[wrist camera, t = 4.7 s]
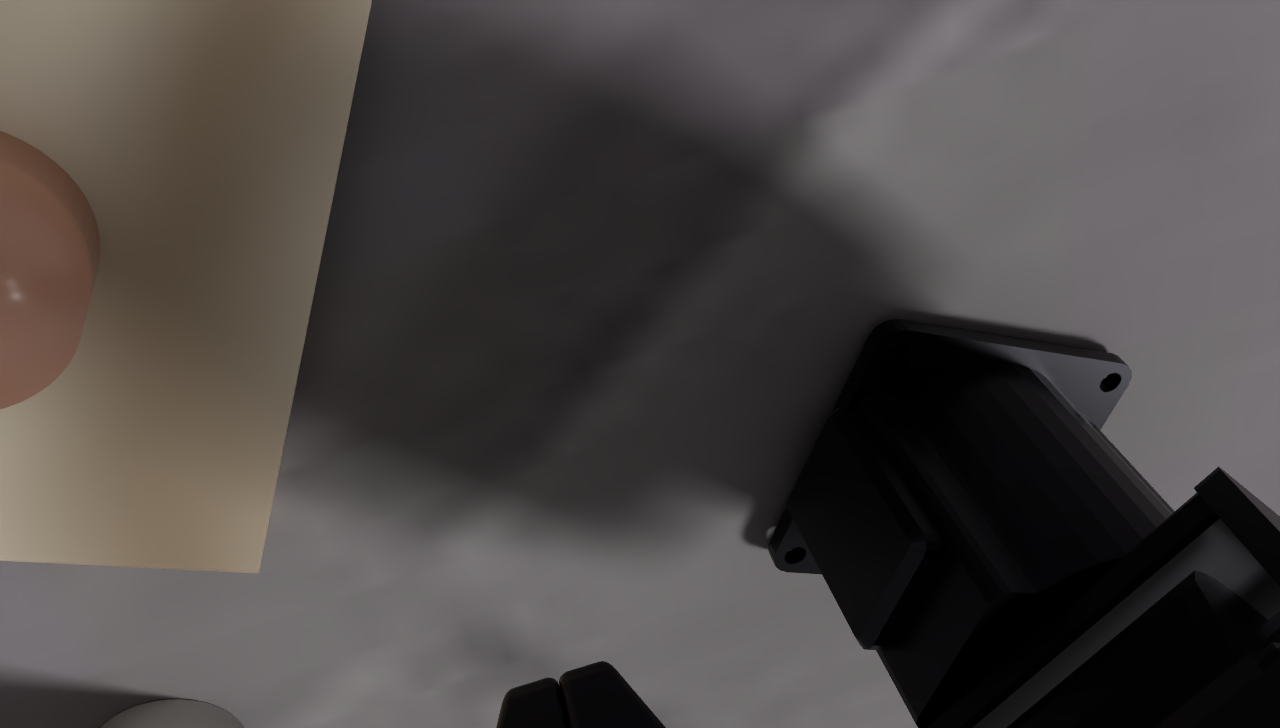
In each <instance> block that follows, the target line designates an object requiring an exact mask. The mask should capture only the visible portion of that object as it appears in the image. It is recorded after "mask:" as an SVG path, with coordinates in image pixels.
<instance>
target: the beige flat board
mask: <svg viewBox="0 0 1280 728" xmlns="http://www.w3.org/2000/svg"><path fill="white" fill-rule="evenodd" d="M371 3H372V0H0V131H2V132H5V133H7V134H10V135H12V136H14V137H16V138H18V139H20V140H23V141H25V142H26V143H28V144H30V145H31V146H33V147H35V148H36V149H38V150H40V151H41V152H43V153H44V154H45V155H47V156H48V157H49V158H51V159H52V160H53V161H55V162H56V163H57V164H58V165H59V166H60V167H61V168H62V169H63V170H64V171H65V172H67V173H68V175H69V176H70V177H71V178H72V179H73V180H74V182H75V183H76V184H77V185H78V186H79V188H80V189H81V191H82V193H83V194H84V196H85V197H86V199H87V200H88V202H89V205H90V207H91V209H92V211H93V213H94V216H95V219H96V222H97V225H98V230H99V237H100V258H99V263H98V269H97V273H96V277H95V281H94V285H93V290H92V294H91V298H90V302H89V306H88V311H87V315H86V319H85V323H84V327H83V332H82V336H81V340H80V342H79V345H78V348H77V351H76V353H75V355H74V356H73V358H72V360H71V362H70V363H69V365H68V366H67V367H66V369H65V370H64V371H63V372H62V374H61V375H60V376H59V377H58V378H57V379H56V380H55V381H53V382H52V383H51V384H50V385H49V386H48V387H46V388H45V389H43V390H42V391H40V392H39V393H38V394H36V395H34V396H32V397H30V398H28V399H26V400H24V401H23V402H20V403H18V404H15V405H12V406H10V407H7V408H3V409H0V560H2V561H22V562H42V563H62V564H82V565H102V566H122V567H142V568H162V569H182V570H202V571H222V572H242V573H259V569H260V564H261V559H262V554H263V549H264V544H265V539H266V534H267V529H268V524H269V519H270V514H271V509H272V504H273V498H274V493H275V488H276V483H277V478H278V473H279V468H280V463H281V458H282V453H283V448H284V443H285V438H286V433H287V428H288V423H289V418H290V413H291V408H292V402H293V397H294V392H295V387H296V382H297V377H298V372H299V367H300V362H301V357H302V352H303V347H304V342H305V337H306V332H307V327H308V322H309V317H310V312H311V306H312V301H313V296H314V291H315V286H316V281H317V276H318V271H319V266H320V261H321V256H322V251H323V246H324V241H325V236H326V231H327V226H328V221H329V216H330V210H331V205H332V200H333V195H334V190H335V185H336V180H337V175H338V170H339V165H340V160H341V155H342V150H343V145H344V140H345V135H346V130H347V125H348V120H349V114H350V109H351V104H352V99H353V94H354V89H355V84H356V79H357V74H358V69H359V64H360V59H361V54H362V49H363V44H364V39H365V34H366V29H367V24H368V18H369V13H370V8H371Z"/></svg>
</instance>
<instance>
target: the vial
mask: <svg viewBox="0 0 1280 728" xmlns="http://www.w3.org/2000/svg"><path fill="white" fill-rule="evenodd" d="M101 728H244V727H243V725H242V724H241V723H240V722H239V720H238V719H237V718H235V717H234V716H233V715H232V714H230V713H229V712H227V711H226V710H224V709H222V708H219V707H217V706H214V705H212V704H209V703H204V702H200V701H194V700H183V699H171V700H160V701H154V702H149V703H144V704H141V705H137V706H135V707H132V708H129V709H127V710H125V711H123V712H121V713H119V714H117V715H116V716H114V717H112V718H111V719H110V720H108V721H107V722H106V723H105V724H104V725H103V726H102V727H101Z"/></svg>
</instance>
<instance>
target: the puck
mask: <svg viewBox="0 0 1280 728" xmlns="http://www.w3.org/2000/svg"><path fill="white" fill-rule="evenodd" d="M99 258H100V237H99V230H98V225H97V222H96V219H95V216H94V213H93V211H92V209H91V207H90V205H89V202H88V200H87V199H86V197H85V196H84V194H83V193H82V191H81V189H80V188H79V186H78V185H77V184H76V183H75V182H74V180H73V179H72V178H71V177H70V176H69V175H68V173H67V172H65V171H64V170H63V169H62V168H61V167H60V166H59V165H58V164H57V163H56V162H55V161H53V160H52V159H51V158H49V157H48V156H47V155H45V154H44V153H43V152H41V151H40V150H38V149H36V148H35V147H33V146H31V145H30V144H28V143H26V142H25V141H23V140H20V139H18V138H16V137H14V136H12V135H10V134H7V133H5V132H2V131H0V409H3V408H7V407H10V406H12V405H15V404H18V403H20V402H23V401H24V400H26V399H28V398H30V397H32V396H34V395H36V394H38V393H39V392H40V391H42V390H43V389H45V388H46V387H48V386H49V385H50V384H51V383H52V382H53V381H55V380H56V379H57V378H58V377H59V376H60V375H61V374H62V372H63V371H64V370H65V369H66V367H67V366H68V365H69V363H70V362H71V360H72V358H73V356H74V355H75V353H76V351H77V348H78V345H79V342H80V340H81V336H82V332H83V327H84V323H85V319H86V315H87V311H88V306H89V302H90V298H91V294H92V290H93V285H94V281H95V277H96V273H97V269H98V263H99Z"/></svg>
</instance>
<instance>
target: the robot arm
mask: <svg viewBox="0 0 1280 728" xmlns="http://www.w3.org/2000/svg"><path fill="white" fill-rule="evenodd" d="M896 341H900V343H899V344H898V345H897V346H896V347H895V348H893V349H891V350H887V348H888V347H889V346H890V345H891V344H892V343H894V342H896ZM886 350H887V351H886ZM1107 375H1108V376H1107ZM1106 376H1107V377H1106ZM1105 377H1106V378H1105ZM1130 380H1131V370H1130V368H1129V366H1128V365H1127V364H1126V363H1125V362H1124V361H1123V360H1122V359H1121V358H1119V357H1118V356H1117V355H1115V354H1112V353H1107V352H1101V351H1095V350H1089V349H1082V348H1076V347H1070V346H1064V345H1057V344H1051V343H1045V342H1038V341H1032V340H1026V339H1020V338H1013V337H1007V336H1001V335H995V334H988V333H982V332H976V331H970V330H963V329H957V328H951V327H945V326H938V325H932V324H926V323H920V322H913V321H907V320H901V319H894V320H888V321H886V322H883V323H881V324H880V325H879V326H877V327H876V328H875V329H874V330H873V331H872V332H871V334H870V335H869V337H868V339H867V341H866V343H865V345H864V347H863V349H862V351H861V353H860V355H859V357H858V359H857V361H856V363H855V366H854V368H853V370H852V372H851V374H850V376H849V378H848V380H847V382H846V384H845V386H844V388H843V390H842V392H841V395H840V397H839V399H838V401H837V403H836V405H835V407H834V409H833V411H832V413H831V415H830V416H829V417H828V418H827V421H826V423H825V425H824V427H823V429H822V431H821V433H820V435H819V437H818V439H817V441H816V443H815V445H814V448H813V450H812V452H811V454H810V456H809V458H808V460H807V462H806V464H805V466H804V468H803V470H802V472H801V475H800V477H799V479H798V481H797V483H796V485H795V487H794V489H793V491H792V493H791V495H790V497H789V499H788V502H787V507H786V509H785V511H784V513H783V515H782V517H781V519H780V521H779V523H778V525H777V527H776V529H775V531H774V534H773V536H772V538H771V540H770V542H769V546H768V550H769V554H770V556H771V558H772V560H773V562H774V564H775V566H776V567H777V568H778V569H779V570H781V571H785V572H795V573H811V574H822V575H823V577H824V579H825V581H826V582H827V584H828V586H829V588H830V590H831V592H832V594H833V596H834V598H835V600H836V601H837V603H838V605H839V607H840V609H841V611H842V613H843V615H844V617H845V619H846V620H847V622H848V624H849V626H850V628H851V630H852V632H853V634H854V636H855V637H856V639H857V641H858V642H859V644H860V645H861V646H862V648H863V649H867V650H876V651H877V653H878V654H879V656H880V658H881V660H882V662H883V664H884V666H885V667H886V669H887V671H888V673H889V675H890V677H891V679H892V680H893V682H894V684H895V686H896V688H897V690H898V692H899V693H900V695H901V697H902V699H903V701H904V703H905V705H906V706H907V708H908V710H909V712H910V714H911V716H912V718H913V719H914V721H915V723H916V725H917V726H918V728H1280V516H1279V515H1277V514H1276V513H1275V512H1274V511H1272V510H1271V509H1270V508H1269V507H1268V506H1266V505H1265V504H1264V503H1263V502H1261V501H1260V500H1259V499H1258V498H1257V497H1255V496H1254V495H1253V494H1252V493H1250V492H1249V491H1248V490H1247V489H1246V488H1244V487H1243V486H1242V485H1241V484H1239V483H1238V482H1237V481H1236V480H1235V479H1233V478H1232V477H1231V476H1230V475H1228V474H1227V473H1226V472H1225V471H1224V470H1222V469H1221V468H1220V467H1218V468H1216V469H1215V470H1214V471H1213V472H1212V473H1211V474H1209V475H1208V476H1207V477H1206V478H1205V479H1204V480H1203V481H1201V482H1200V483H1199V484H1198V485H1197V486H1196V487H1194V489H1195V490H1196V491H1197V493H1196V494H1195V495H1194V496H1192V497H1191V498H1190V499H1189V500H1188V501H1187V502H1186V503H1184V504H1183V505H1182V506H1181V507H1180V508H1179V509H1177V510H1176V511H1174V510H1173V509H1172V508H1171V507H1170V506H1169V505H1168V504H1167V503H1166V502H1165V500H1164V499H1163V498H1162V497H1161V496H1160V495H1159V494H1158V493H1157V492H1156V491H1155V490H1154V488H1153V487H1152V486H1151V485H1150V484H1149V483H1148V482H1147V481H1146V480H1145V479H1144V478H1143V477H1142V475H1141V474H1140V473H1139V472H1138V471H1137V470H1136V469H1135V468H1134V467H1133V466H1132V465H1131V464H1130V462H1129V461H1128V460H1127V459H1126V458H1125V457H1124V456H1123V455H1122V454H1121V453H1120V452H1119V450H1118V449H1117V448H1116V447H1115V446H1114V445H1113V444H1112V443H1111V442H1110V441H1109V440H1108V439H1107V437H1106V436H1105V435H1104V434H1103V433H1102V432H1101V431H1100V429H1101V428H1102V426H1103V425H1104V423H1105V421H1106V420H1107V418H1108V417H1109V415H1110V413H1111V412H1112V410H1113V409H1114V407H1115V406H1116V404H1117V402H1118V401H1119V399H1120V398H1121V396H1122V394H1123V393H1124V391H1125V390H1126V388H1127V386H1128V385H1129V382H1130ZM795 547H796V548H795ZM792 548H795V549H793V550H791V549H792ZM789 550H791V551H789ZM559 685H560V686H559ZM496 728H665V726H664V725H663V724H662V723H661V722H660V720H659V719H658V718H657V717H656V716H655V715H654V713H653V712H652V711H651V710H650V709H649V708H648V706H647V705H646V704H645V703H644V702H643V701H642V699H641V698H640V697H639V696H638V695H637V694H636V692H635V691H634V690H633V689H632V688H631V687H630V685H629V684H628V683H627V682H626V681H625V679H624V678H623V677H622V676H621V675H620V674H619V672H618V671H617V670H616V669H615V668H614V667H613V666H612V665H611V664H609V663H607V662H604V661H601V662H597V663H593V664H590V665H587V666H584V667H580V668H577V669H574V670H571V671H567V672H565V673H564V674H563V675H562V676H561V677H560V680H559V684H558V682H557V681H556V680H555V679H553V678H545V679H541V680H538V681H535V682H532V683H528V684H525V685H522V686H519V687H515V688H513V689H511V690H509V691H508V692H507V693H506V695H505V697H504V699H503V702H502V706H501V710H500V714H499V719H498V723H497V727H496Z"/></svg>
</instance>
